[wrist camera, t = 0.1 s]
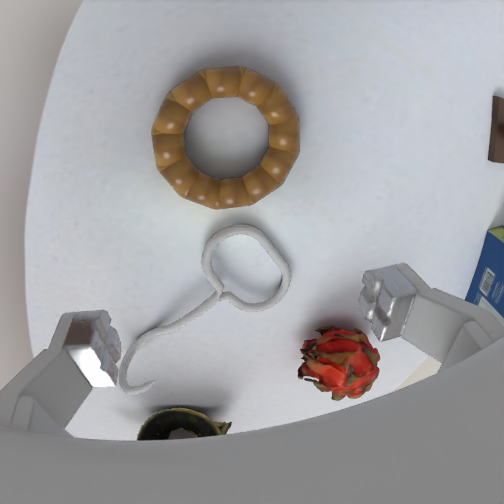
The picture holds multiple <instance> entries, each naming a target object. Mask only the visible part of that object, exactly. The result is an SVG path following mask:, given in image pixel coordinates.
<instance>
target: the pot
mask: <svg viewBox="0 0 504 504" xmlns="http://www.w3.org/2000/svg"><path fill="white" fill-rule="evenodd" d="M231 423H232V422H229V423H226V422H216V421H214V422H213V421H212V419H210V418H208V417H206V416H205V415H204V414H201V413H200V412H199V413H198V412H196V411H193V410H191V409H190V410H189V409H184V408H178V409H177V408H172V409H171V410H169V409H166V410H161V411H160V412H155V413H154V414H152V415H151V417H148V419H147V420H146V421H145V423H144V425H141V426H142V427H140V428H141V429H140V430H139V434H137V440H136V441H148V440H168V438H169V435H170V433H171V431H172V430H175V429H179V428H183V429H185V430H187V431H188V432H190V433H192V434H194V435H195V436H197V437H198V438H200V437H210V436H219V435H226V433H227V431H228V429H229V428H230V427H231Z"/></svg>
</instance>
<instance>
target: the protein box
mask: <svg viewBox="0 0 504 504" xmlns="http://www.w3.org/2000/svg"><path fill="white" fill-rule="evenodd" d="M465 301H467V302H470V303H472V304H474V305H477V306H479V307H481V308H484V309H486V310H488V311H490V312H491V313H492V314H493V315H494V316H495V317H496V319H497V320H498V321H499V322H500V323H501V324H502V325H503V326H504V226H502V227H498V228H494V229H490V230H488V232H487V236H486V239H485V243H484V246H483V250H482V253H481V257H480V260H479V263H478V266H477V269H476V272H475V275H474V278H473V281H472V283H471V286H470V289H469V292H468V294H467V297H466V299H465Z"/></svg>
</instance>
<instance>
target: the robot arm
mask: <svg viewBox="0 0 504 504" xmlns="http://www.w3.org/2000/svg"><path fill="white" fill-rule="evenodd" d="M362 282H363V284H364V285H365V287H364V288H363V289H362V291H361V292H360V296H359V306H360V310H361V313H362V315H363V317H364V318H365V319H366V320H368V321H370V322H372V326H371V329H372V331H373V332H374V334H375V335H376V337H377V338H378V340H379V341H380V342H382V341H386V340H389V339H393V338H396V337H400V336H401V337H402V338H403V339H405V340H406V341H408V342H409V343H411V344H412V345H414V346H416V347H417V348H419V349H420V350H422V351H423V352H425V353H426V354H428V355H430V356H431V357H433V358H434V359H436V360H437V361H439V362H441V363H442V365H441V367H440V369H439V370H438V372H437V373H436V374H434V375H432V376H430V377H427V378H425V379H423V380H421V381H418V382H416V383H414V384H411V385H409V386H406V387H404V388H402V389H399V390H397V391H394V392H391V393H389V394H386V395H383V396H381V397H378V398H375V399H372V400H370V401H367V402H364V403H361V404H358V405H355V406H351V407H348V408H345V409H342V410H338V411H335V412H332V413H328V414H324V415H321V416H317V417H313V418H309V419H305V420H301V421H297V422H293V423H288V424H284V425H279V426H274V427H269V428H264V429H258V430H253V431H247V432H240V433H234V434H226V435H219V436H210V437H200V438H189V439H174V440H148V441H123V440H97V439H83V438H74V437H73V436H72V435H71V434H69V433H68V432H67V431H66V430H65V427H66V426H67V424H68V423H69V421H70V420H71V419H72V417H73V416H74V414H75V413H76V411H77V410H78V409H79V407H80V406H81V404H82V403H83V401H84V400H85V399H86V397H87V396H88V394H89V393H90V392H91V390H92V389H93V388H92V387H111V386H116V382H117V375H118V368H117V366H116V362H117V361H118V360H119V359H120V356H121V342H120V338H119V335H118V333H117V331H116V329H114V328H113V327H111V326H110V323H111V318H110V316H109V314H108V312H107V311H105V310H95V311H81V312H69V313H64V314H63V315H62V316H61V318H60V320H59V323H58V325H57V328H56V330H55V333H54V335H53V337H52V340H51V343H50V345H49V348H48V349H44V350H43V351H42V352H41V353H40V354H38V355H37V356H36V357H35V358H34V359H33V360H32V361H31V362H30V363H29V364H28V365H27V366H26V367H25V368H24V369H22V370H21V371H20V372H19V373H18V374H17V375H16V376H15V377H14V378H13V379H12V380H11V381H10V382H9V383H8V384H7V385H6V386H5V387H4V388H3V389H2V390H1V391H0V504H504V326H503V325H502V324H501V323H500V322H499V321H498V320H497V319H496V317H495V316H494V315H493V314H492V313H491V312H490V311H488V310H486V309H484V308H481V307H479V306H477V305H474V304H472V303H470V302H467V301H465V300H462V299H460V298H458V297H455V296H453V295H450V294H448V293H446V292H443V291H441V290H438V289H436V288H433V289H431V288H430V287H429V286H428V285H427V284H426V283H425V282H424V281H423V280H422V279H421V278H420V277H419V276H418V274H417V273H416V272H415V271H414V270H413V269H412V268H411V267H410V266H409V265H408V264H406V263H399V264H395V265H391V266H388V267H383V268H378V269H373V270H368V271H365V273H364V275H363V280H362Z"/></svg>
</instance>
